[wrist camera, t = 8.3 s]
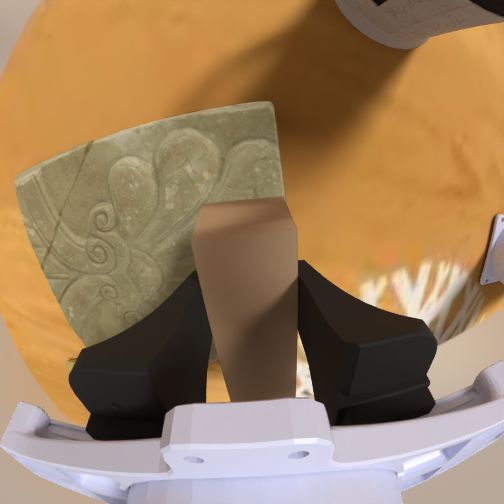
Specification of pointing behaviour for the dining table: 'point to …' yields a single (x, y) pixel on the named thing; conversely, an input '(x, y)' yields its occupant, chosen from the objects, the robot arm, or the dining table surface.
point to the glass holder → (417, 18)
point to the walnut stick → (251, 293)
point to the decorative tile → (141, 209)
